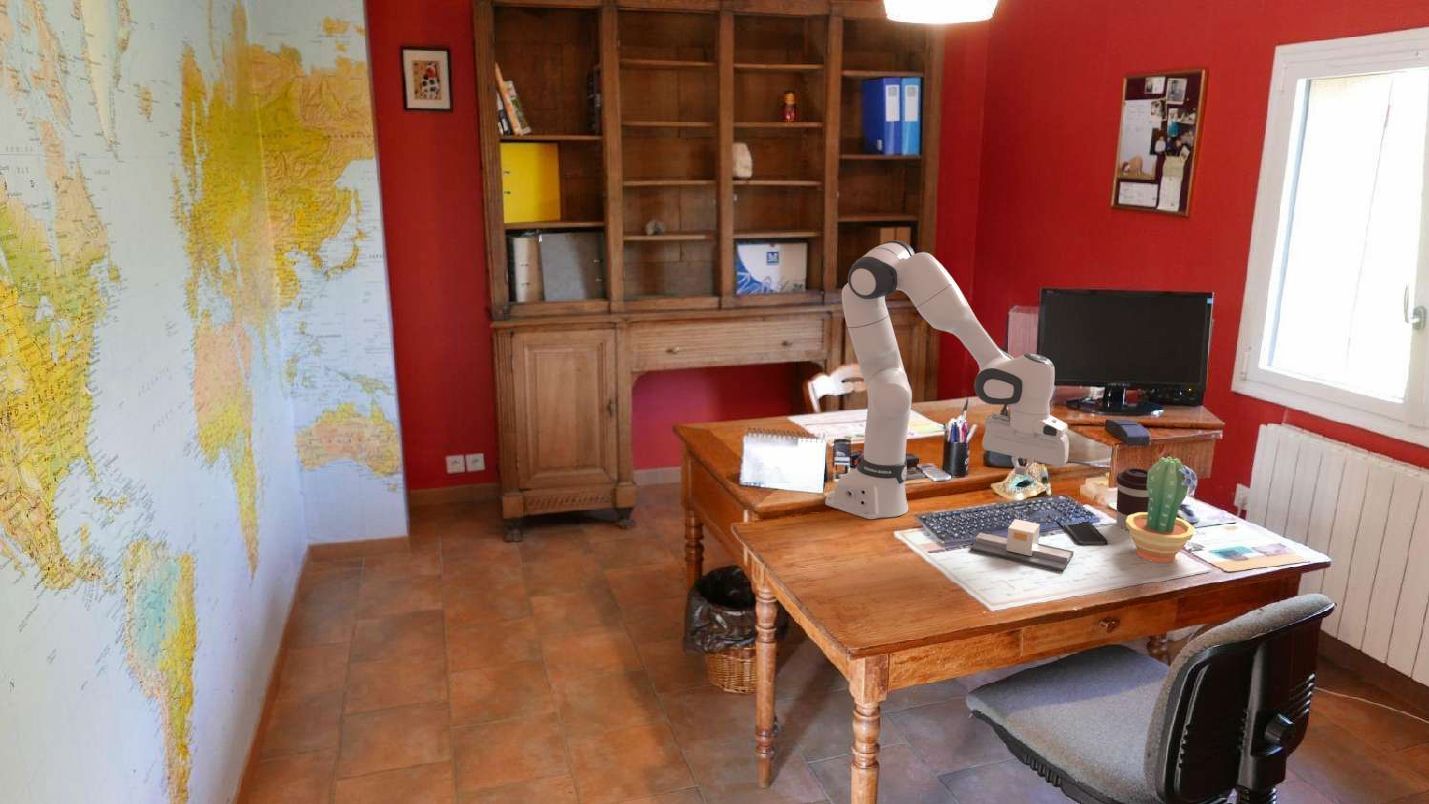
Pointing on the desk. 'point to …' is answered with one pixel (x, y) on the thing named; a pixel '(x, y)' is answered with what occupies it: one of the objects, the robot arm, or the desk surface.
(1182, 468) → the potted cactus
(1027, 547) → the block
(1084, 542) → the phone
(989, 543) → the rail
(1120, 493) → the coffee cup
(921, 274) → the robot arm
